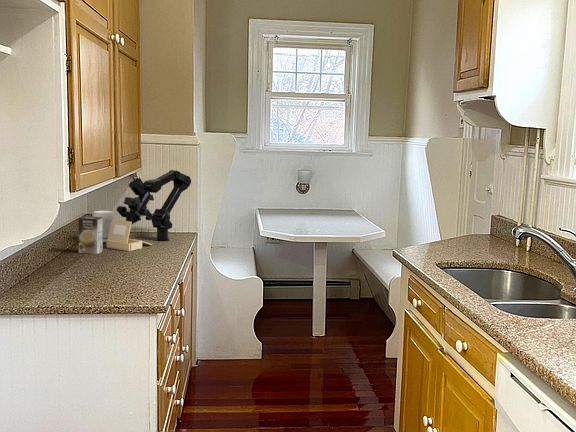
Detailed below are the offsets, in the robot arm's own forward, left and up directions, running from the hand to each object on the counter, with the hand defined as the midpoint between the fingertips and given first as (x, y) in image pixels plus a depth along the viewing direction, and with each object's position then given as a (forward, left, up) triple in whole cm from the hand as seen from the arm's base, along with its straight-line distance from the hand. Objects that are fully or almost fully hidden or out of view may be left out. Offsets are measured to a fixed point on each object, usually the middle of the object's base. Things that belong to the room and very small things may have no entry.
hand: (125, 226), depth 284 cm
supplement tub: (-18, -12, -10) cm, 24 cm away
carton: (-3, +2, -10) cm, 11 cm away
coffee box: (+10, -15, -10) cm, 21 cm away
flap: (+3, -2, -1) cm, 4 cm away
